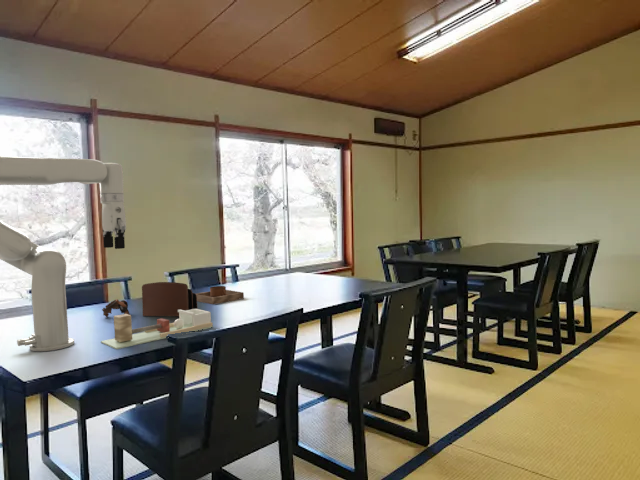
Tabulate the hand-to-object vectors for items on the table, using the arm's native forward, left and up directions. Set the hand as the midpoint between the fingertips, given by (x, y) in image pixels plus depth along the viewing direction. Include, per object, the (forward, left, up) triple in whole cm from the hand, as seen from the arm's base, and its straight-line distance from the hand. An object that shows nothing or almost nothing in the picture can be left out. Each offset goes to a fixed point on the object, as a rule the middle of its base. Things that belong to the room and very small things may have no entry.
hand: (114, 248), depth 169 cm
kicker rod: (+2, -14, -29) cm, 33 cm away
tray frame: (+58, +25, -30) cm, 70 cm away
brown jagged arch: (+12, +27, -31) cm, 43 cm away
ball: (+15, -15, -28) cm, 35 cm away
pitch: (+8, -15, -30) cm, 34 cm away
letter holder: (+28, +15, -31) cm, 44 cm away
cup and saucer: (+58, +25, -31) cm, 71 cm away
